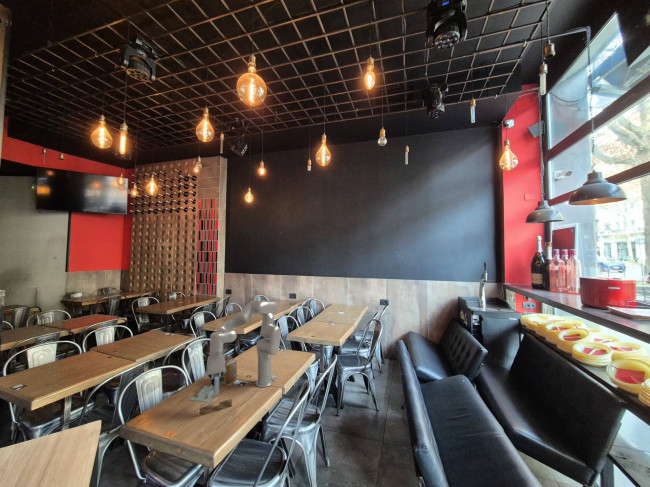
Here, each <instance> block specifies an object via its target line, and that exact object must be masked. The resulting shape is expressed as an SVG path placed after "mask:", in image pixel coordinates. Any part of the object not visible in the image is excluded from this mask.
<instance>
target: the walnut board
mask: <svg viewBox="0 0 650 487" xmlns="http://www.w3.org/2000/svg"><path fill="white" fill-rule="evenodd" d="M232 403H233V400H232V398H230V399H226V400H223V401H219V402H218V405H215V406H214V405H213V404H208V405H205V406H202V407H199V412H198V413H199V414H198V415H199V417H201V416H205V415H208V414H211V413H215V412H218V411H221V410H224V409H228V408H232V407H233V406H232V405H233V404H232Z"/></svg>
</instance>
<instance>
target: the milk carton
mask: <svg viewBox="0 0 650 487" xmlns="http://www.w3.org/2000/svg"><path fill="white" fill-rule="evenodd" d="M224 357H225V368H226V370H227V372H225V373H223V375H222V376H221V377H220V382H219V385H221V386H224V387H227V386H228V385H230V384H232V383H234V382H235V381H237V380H238V379H237V378H238V377H237V376H238V374H237V373H238V370H237V369H238V361H237V360H236V359H234V358H233V357H232V356H231V355H227V354H224ZM217 375H218V373H217Z"/></svg>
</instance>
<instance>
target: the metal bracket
mask: <svg viewBox="0 0 650 487" xmlns="http://www.w3.org/2000/svg"><path fill="white" fill-rule="evenodd" d="M214 395H215V394H214V391H213V389H212V384H211V385H210V386H207V385H204V386H203V387H202V388H201V389H200V390H199V391H198V393H197V394H196V395H195V396H191V398H190V399H189V401H191V402H202V403H208V404H210V403H212V401H213V399H214V398H212V397H213V396H214Z"/></svg>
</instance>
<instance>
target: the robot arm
mask: <svg viewBox="0 0 650 487" xmlns="http://www.w3.org/2000/svg"><path fill="white" fill-rule="evenodd" d="M278 309H279V306H278V303H277V302H276V301H273V300H268V299H267V300H266V299H263V300H262V299H261V300H255V299H254V300H251V301H249V302H248V303H247V304H246V305H245V306H244V307H243V309H241V310H240V311H239V313H237V315H235V316H233V317H230V318H229V319H228V320H226V321H225V322H224V323H222V324H221V325H220V326H219V328H218V329H217V331H214V332H211V333H210V335H209V336H210V337H209V355H208V356H207V360H206V361H207V362H206V370H205V373H204V376H205V377H208V378H210V384H211V385H213V386H214V374H215V373H218V377H219V382H220V377H221V376H222V375H223V373H225V372H227V370H226V368H225V357H224V355H225V354H224V353H226V349H224V344H228V343H229V344H230V343H233V342H234V341H236V339H237V336H238V333H237V332H236V331H235V330H233V329H234V328H236V327H238V326H243V325H245V324H247V323H249V322H250V320H252V318H253V317H254V316H255V314H259V315H261V317H262V318H261V319H262V320H261V327H260V335H261V336H262V337H264V338H261V339H259V340H258V341H257V343H256V353H257V380H256V381H255V385H256V387H259V388H267V387H270V386H272V385H273V384H274V379H278V375H275V374H273V375H272V356H275V355H277V354H278V352H279V350H280V344H281V337H282V329H281V327H280V326H278V325H277V324H274V322H275V321H274V320H275V315H274V313H276V312H277V311H278Z"/></svg>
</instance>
